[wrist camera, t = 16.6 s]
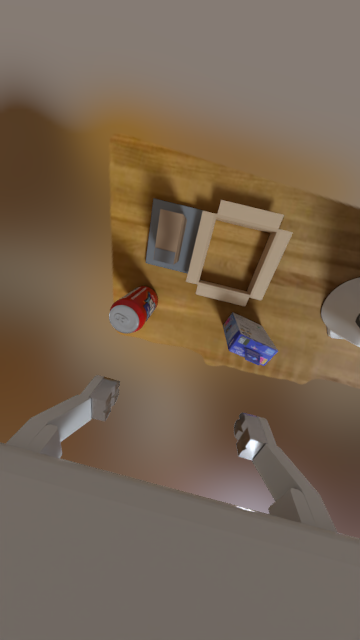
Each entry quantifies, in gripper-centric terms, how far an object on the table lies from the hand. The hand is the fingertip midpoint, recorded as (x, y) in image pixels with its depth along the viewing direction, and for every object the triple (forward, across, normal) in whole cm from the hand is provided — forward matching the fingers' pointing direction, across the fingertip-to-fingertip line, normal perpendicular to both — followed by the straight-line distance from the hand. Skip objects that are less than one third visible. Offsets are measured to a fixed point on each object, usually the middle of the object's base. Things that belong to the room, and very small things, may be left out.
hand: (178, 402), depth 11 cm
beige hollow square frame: (+37, -7, -8) cm, 39 cm away
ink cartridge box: (+37, -16, +9) cm, 42 cm away
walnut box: (+36, +8, -9) cm, 38 cm away
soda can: (+37, +13, +8) cm, 40 cm away
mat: (+37, +8, -9) cm, 39 cm away
